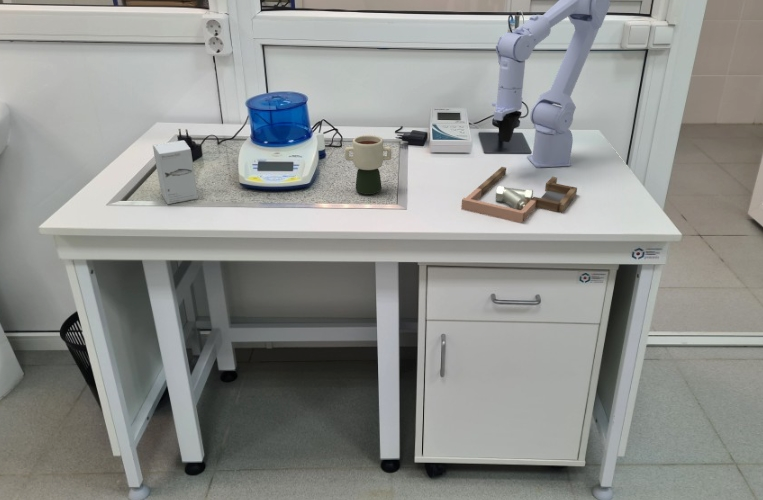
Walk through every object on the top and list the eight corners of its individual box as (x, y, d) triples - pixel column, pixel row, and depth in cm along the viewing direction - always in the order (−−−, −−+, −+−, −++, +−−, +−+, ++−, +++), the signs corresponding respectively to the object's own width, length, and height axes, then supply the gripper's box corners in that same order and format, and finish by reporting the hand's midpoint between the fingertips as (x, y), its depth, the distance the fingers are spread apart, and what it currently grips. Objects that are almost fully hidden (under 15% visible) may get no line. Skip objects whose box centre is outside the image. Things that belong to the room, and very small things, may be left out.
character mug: (390, 185, 157) (391, 134, 150) (391, 197, 150) (391, 144, 144) (346, 185, 157) (345, 135, 150) (345, 197, 150) (343, 145, 144)
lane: (501, 174, 163) (501, 166, 162) (580, 189, 154) (581, 182, 153) (476, 195, 151) (476, 188, 150) (560, 214, 142) (562, 206, 141)
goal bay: (476, 195, 151) (477, 186, 150) (534, 208, 144) (536, 199, 143) (461, 209, 144) (462, 199, 143) (522, 223, 138) (523, 213, 137)
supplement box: (167, 205, 147) (157, 153, 141) (161, 194, 152) (151, 143, 146) (199, 199, 150) (191, 148, 144) (191, 188, 155) (184, 138, 149)
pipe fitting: (527, 215, 143) (531, 202, 148) (529, 200, 141) (533, 187, 146) (492, 211, 145) (497, 197, 150) (493, 196, 143) (498, 182, 148)
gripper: (504, 77, 158) (500, 130, 165) (483, 91, 147) (479, 147, 154) (532, 80, 155) (526, 134, 161) (512, 95, 144) (507, 151, 150)
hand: (505, 140), depth 157 cm, fingers closed
